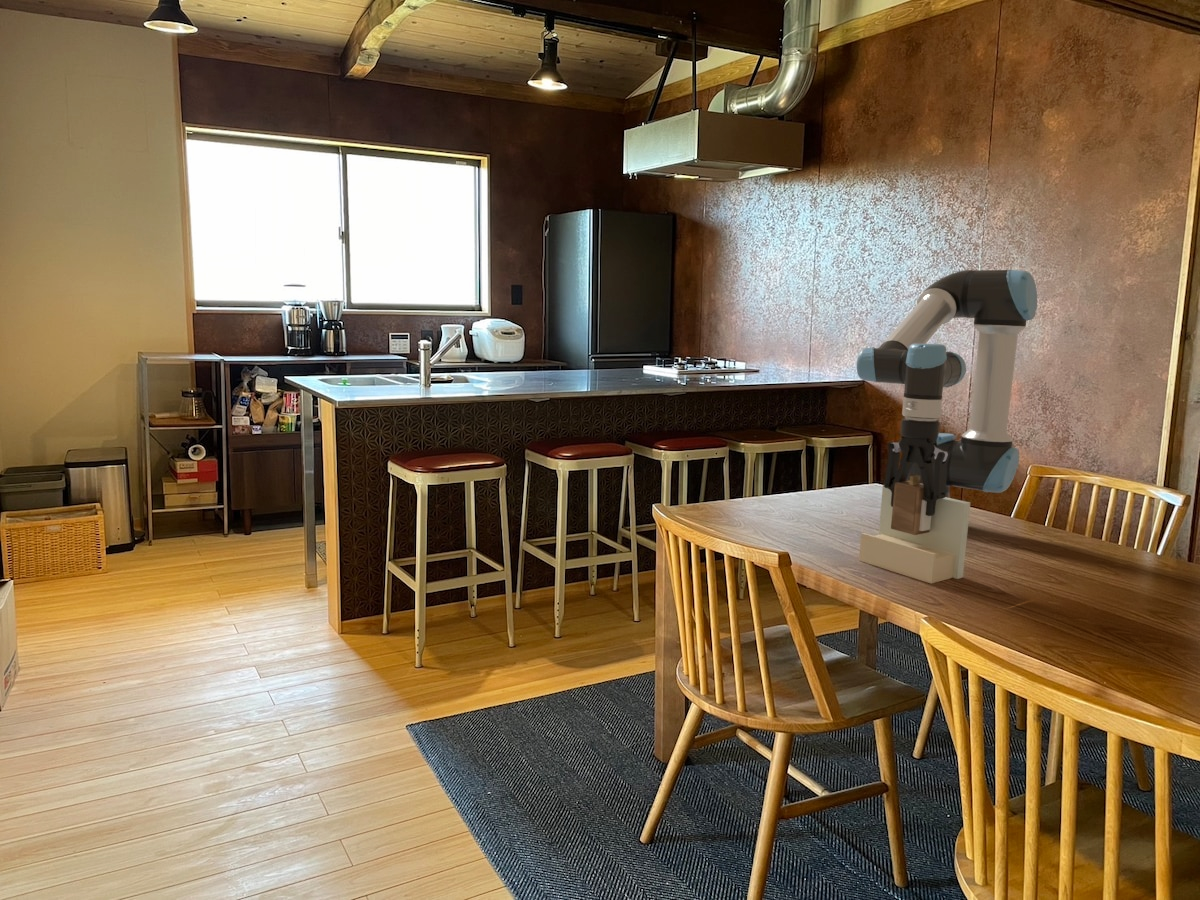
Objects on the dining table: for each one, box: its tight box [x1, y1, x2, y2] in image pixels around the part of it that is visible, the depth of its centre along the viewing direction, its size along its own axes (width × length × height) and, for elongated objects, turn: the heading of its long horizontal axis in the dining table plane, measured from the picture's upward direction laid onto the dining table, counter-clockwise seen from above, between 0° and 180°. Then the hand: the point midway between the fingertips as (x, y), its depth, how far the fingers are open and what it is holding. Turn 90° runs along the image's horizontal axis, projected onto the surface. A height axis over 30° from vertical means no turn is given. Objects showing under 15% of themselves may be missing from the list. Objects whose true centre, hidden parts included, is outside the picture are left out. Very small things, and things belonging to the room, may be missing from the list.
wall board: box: [858, 484, 971, 585], centre depth 183 cm, size 10×20×16 cm, turn 35°
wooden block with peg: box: [891, 475, 930, 535], centre depth 182 cm, size 5×6×12 cm
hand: (910, 526), depth 183 cm, fingers closed on wooden block with peg, 6 cm apart
